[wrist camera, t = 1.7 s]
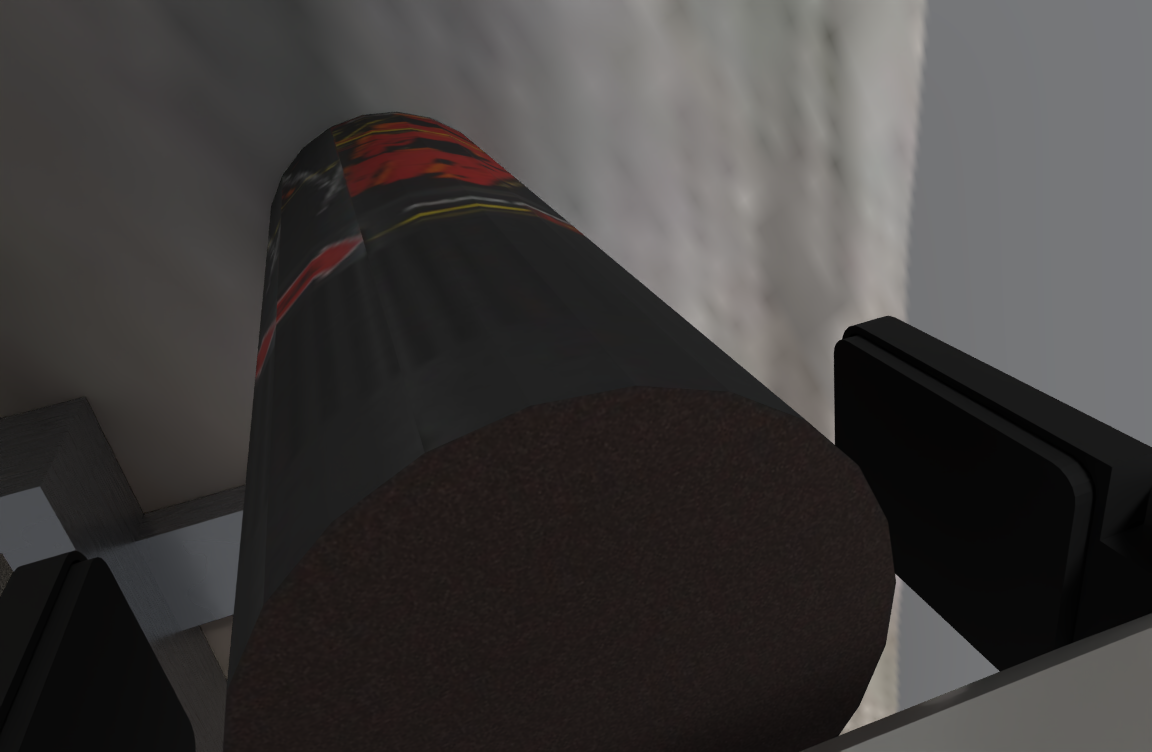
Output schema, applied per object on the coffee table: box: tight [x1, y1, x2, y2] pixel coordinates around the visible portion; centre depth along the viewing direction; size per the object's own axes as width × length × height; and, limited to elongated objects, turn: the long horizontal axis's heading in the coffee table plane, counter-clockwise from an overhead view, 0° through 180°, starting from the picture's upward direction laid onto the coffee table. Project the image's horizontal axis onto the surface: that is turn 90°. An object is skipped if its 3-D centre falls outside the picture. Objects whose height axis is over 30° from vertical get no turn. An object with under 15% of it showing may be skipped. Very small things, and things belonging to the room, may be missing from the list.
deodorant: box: [223, 112, 896, 752], centre depth 13 cm, size 6×6×15 cm
